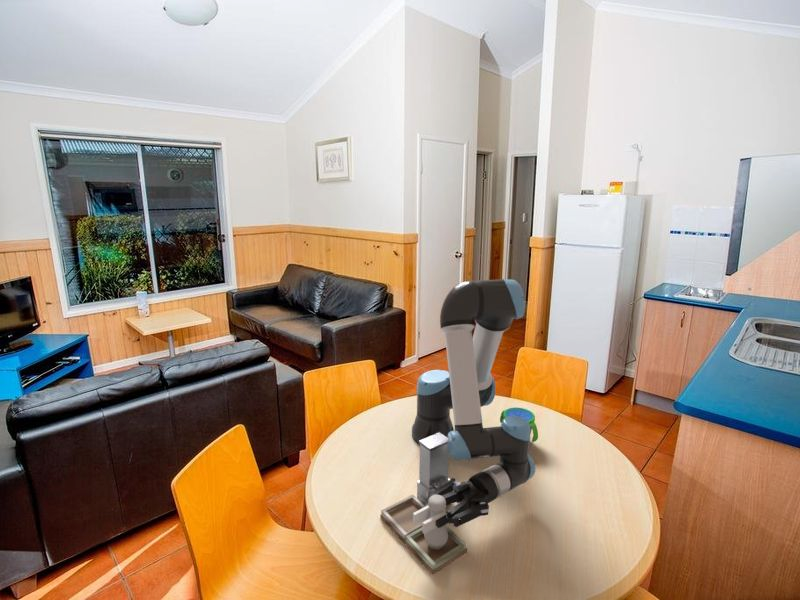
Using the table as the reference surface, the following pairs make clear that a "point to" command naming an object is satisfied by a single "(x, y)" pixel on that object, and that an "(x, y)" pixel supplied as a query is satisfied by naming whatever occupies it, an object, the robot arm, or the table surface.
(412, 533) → the grey brown flat rectangle
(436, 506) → the salt shaker
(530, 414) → the snack cup
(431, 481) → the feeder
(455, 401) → the robot arm
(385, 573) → the table surface
